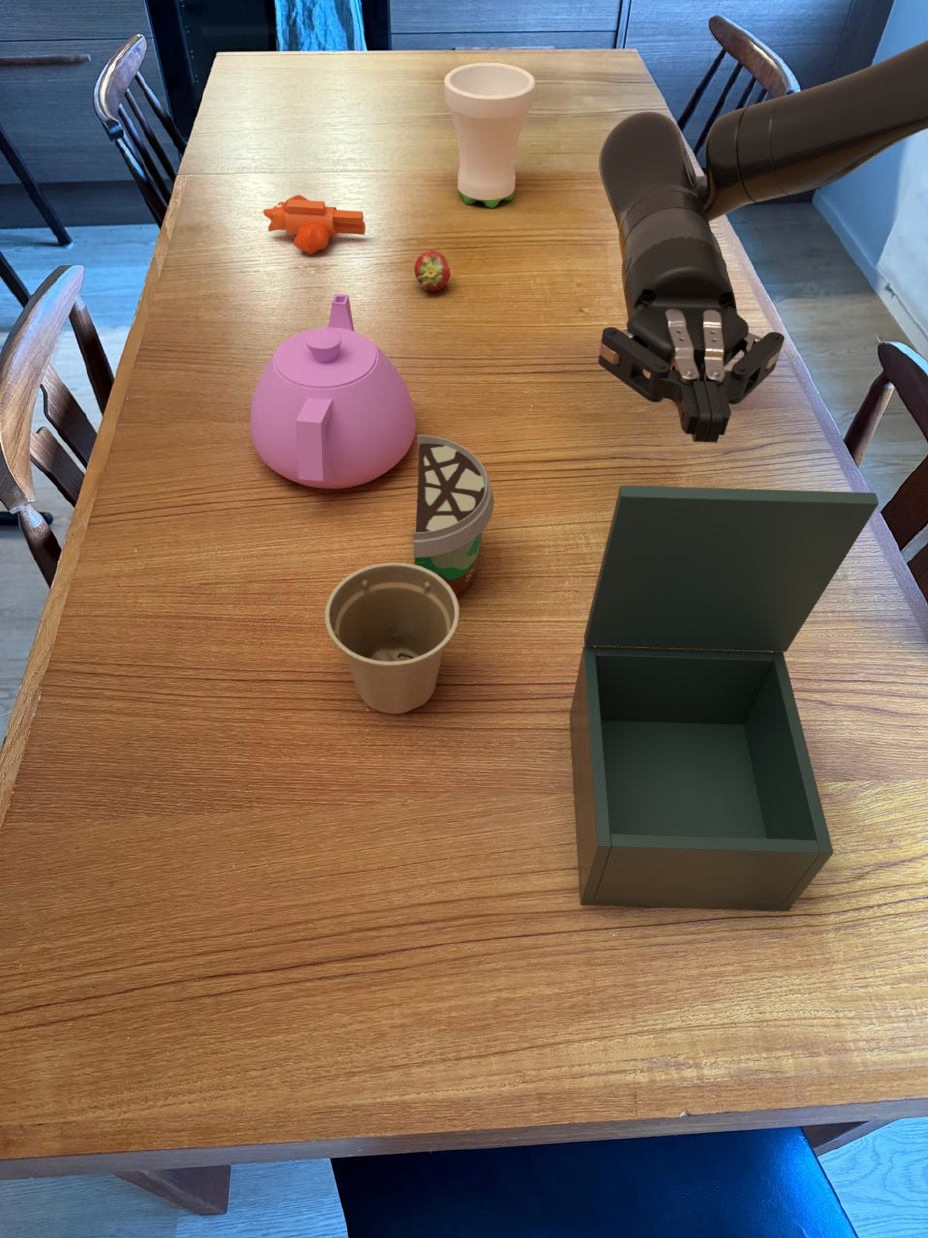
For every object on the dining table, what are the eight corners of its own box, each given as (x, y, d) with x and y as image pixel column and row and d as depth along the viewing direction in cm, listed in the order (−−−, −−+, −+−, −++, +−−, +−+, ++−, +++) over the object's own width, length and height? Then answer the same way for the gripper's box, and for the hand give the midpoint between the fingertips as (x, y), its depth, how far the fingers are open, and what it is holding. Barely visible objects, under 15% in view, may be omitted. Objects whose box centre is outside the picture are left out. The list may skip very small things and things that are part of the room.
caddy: (788, 911, 58) (834, 853, 52) (580, 905, 58) (597, 845, 52) (749, 721, 68) (783, 651, 61) (569, 716, 68) (583, 645, 61)
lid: (879, 503, 47) (876, 492, 48) (621, 496, 47) (620, 484, 48) (786, 652, 60) (784, 642, 61) (584, 646, 60) (583, 636, 61)
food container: (491, 625, 73) (497, 539, 65) (416, 624, 73) (413, 538, 65) (488, 519, 81) (492, 431, 73) (420, 518, 81) (417, 430, 73)
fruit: (453, 274, 107) (454, 234, 103) (447, 301, 104) (448, 260, 100) (418, 271, 108) (417, 231, 104) (411, 299, 104) (410, 258, 100)
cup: (544, 197, 120) (554, 81, 109) (484, 224, 115) (488, 105, 104) (487, 168, 125) (491, 54, 114) (427, 193, 120) (425, 76, 109)
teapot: (407, 527, 80) (402, 418, 71) (234, 520, 80) (206, 411, 71) (424, 378, 94) (421, 272, 85) (276, 373, 94) (257, 266, 85)
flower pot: (449, 628, 73) (450, 555, 66) (466, 726, 67) (468, 657, 60) (333, 640, 72) (321, 567, 65) (339, 740, 66) (328, 671, 59)
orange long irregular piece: (364, 189, 108) (266, 183, 109) (355, 238, 106) (255, 232, 106) (368, 221, 113) (275, 216, 114) (361, 268, 110) (265, 262, 111)
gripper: (749, 329, 70) (796, 480, 59) (580, 324, 70) (594, 474, 59) (777, 237, 64) (834, 385, 53) (592, 231, 64) (611, 378, 53)
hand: (708, 431), depth 56 cm, fingers closed
